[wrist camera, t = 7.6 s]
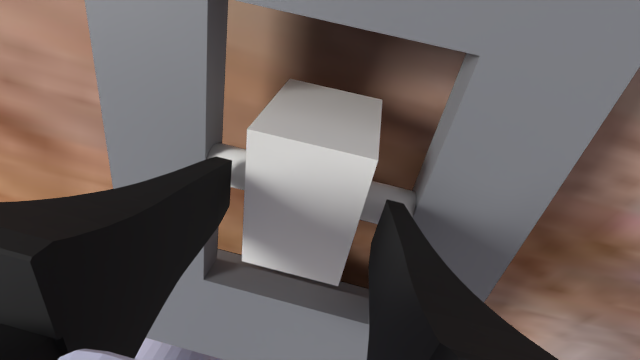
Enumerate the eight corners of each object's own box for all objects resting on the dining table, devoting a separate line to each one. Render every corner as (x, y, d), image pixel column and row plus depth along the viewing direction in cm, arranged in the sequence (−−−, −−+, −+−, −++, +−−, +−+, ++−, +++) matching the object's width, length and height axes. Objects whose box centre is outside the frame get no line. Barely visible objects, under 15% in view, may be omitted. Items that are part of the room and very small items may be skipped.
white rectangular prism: (351, 208, 17) (338, 286, 13) (276, 189, 17) (241, 261, 13) (382, 99, 14) (378, 160, 10) (289, 78, 14) (247, 129, 10)
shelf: (404, 314, 24) (411, 412, 18) (192, 257, 24) (135, 334, 19) (618, -123, 12) (838, -235, 6) (187, -208, 12) (27, -376, 7)
